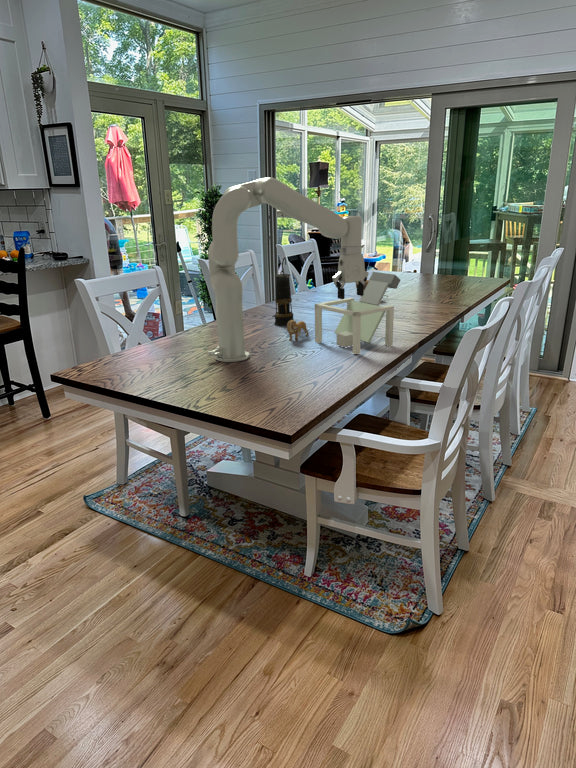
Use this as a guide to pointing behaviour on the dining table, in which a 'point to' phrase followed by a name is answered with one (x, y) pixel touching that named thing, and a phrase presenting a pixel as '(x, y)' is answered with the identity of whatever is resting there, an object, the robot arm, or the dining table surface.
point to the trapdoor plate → (369, 305)
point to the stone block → (345, 339)
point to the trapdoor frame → (356, 321)
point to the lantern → (283, 299)
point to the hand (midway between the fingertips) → (350, 296)
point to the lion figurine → (296, 329)
